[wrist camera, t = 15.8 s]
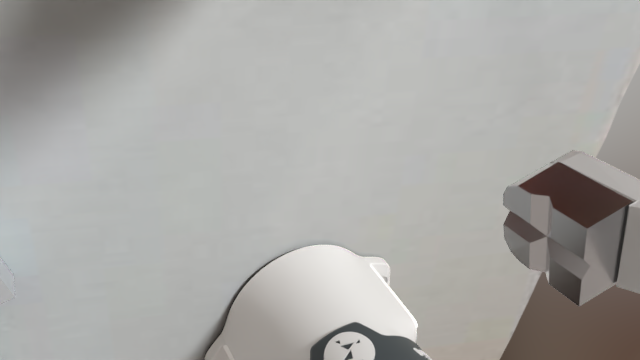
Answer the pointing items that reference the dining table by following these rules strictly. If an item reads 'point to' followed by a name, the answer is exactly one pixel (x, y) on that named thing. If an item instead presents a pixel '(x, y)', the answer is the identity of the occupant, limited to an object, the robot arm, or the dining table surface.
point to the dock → (6, 283)
